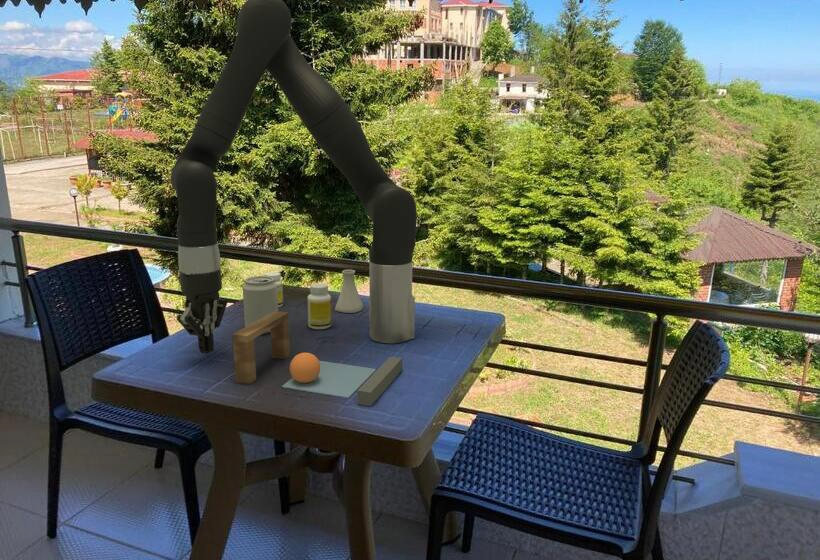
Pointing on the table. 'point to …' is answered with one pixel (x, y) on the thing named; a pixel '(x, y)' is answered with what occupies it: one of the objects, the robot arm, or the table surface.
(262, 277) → the can
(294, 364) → the ball
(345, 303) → the flask
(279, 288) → the supplement bottle
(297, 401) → the table surface
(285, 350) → the bridge
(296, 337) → the table surface
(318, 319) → the supplement bottle
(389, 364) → the bar
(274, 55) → the robot arm
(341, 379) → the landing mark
